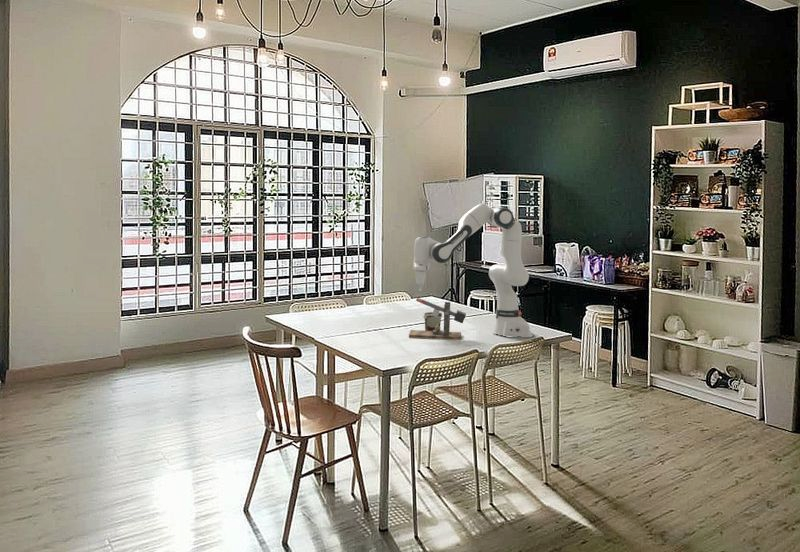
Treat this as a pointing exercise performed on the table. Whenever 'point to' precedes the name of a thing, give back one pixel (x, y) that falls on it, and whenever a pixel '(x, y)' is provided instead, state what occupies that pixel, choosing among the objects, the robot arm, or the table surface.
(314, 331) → the table surface
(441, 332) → the toy catapult
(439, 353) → the table surface
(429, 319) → the food container
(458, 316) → the lever
